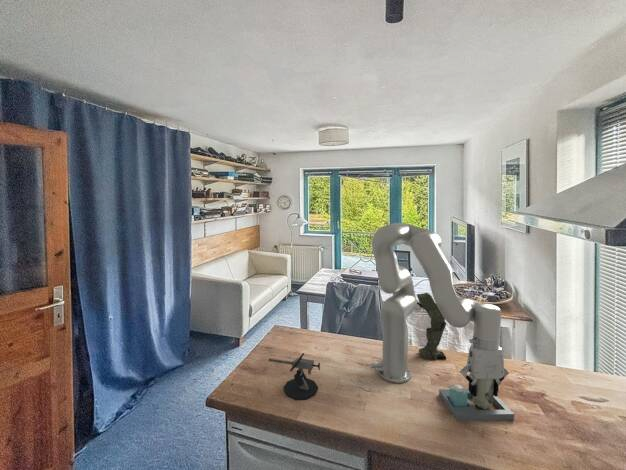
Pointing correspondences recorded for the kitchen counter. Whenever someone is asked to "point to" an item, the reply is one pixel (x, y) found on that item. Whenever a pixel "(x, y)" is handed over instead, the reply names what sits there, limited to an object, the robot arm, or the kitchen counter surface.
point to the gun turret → (300, 379)
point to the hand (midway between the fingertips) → (483, 393)
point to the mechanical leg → (432, 328)
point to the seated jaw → (458, 396)
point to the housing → (472, 413)
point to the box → (484, 392)
